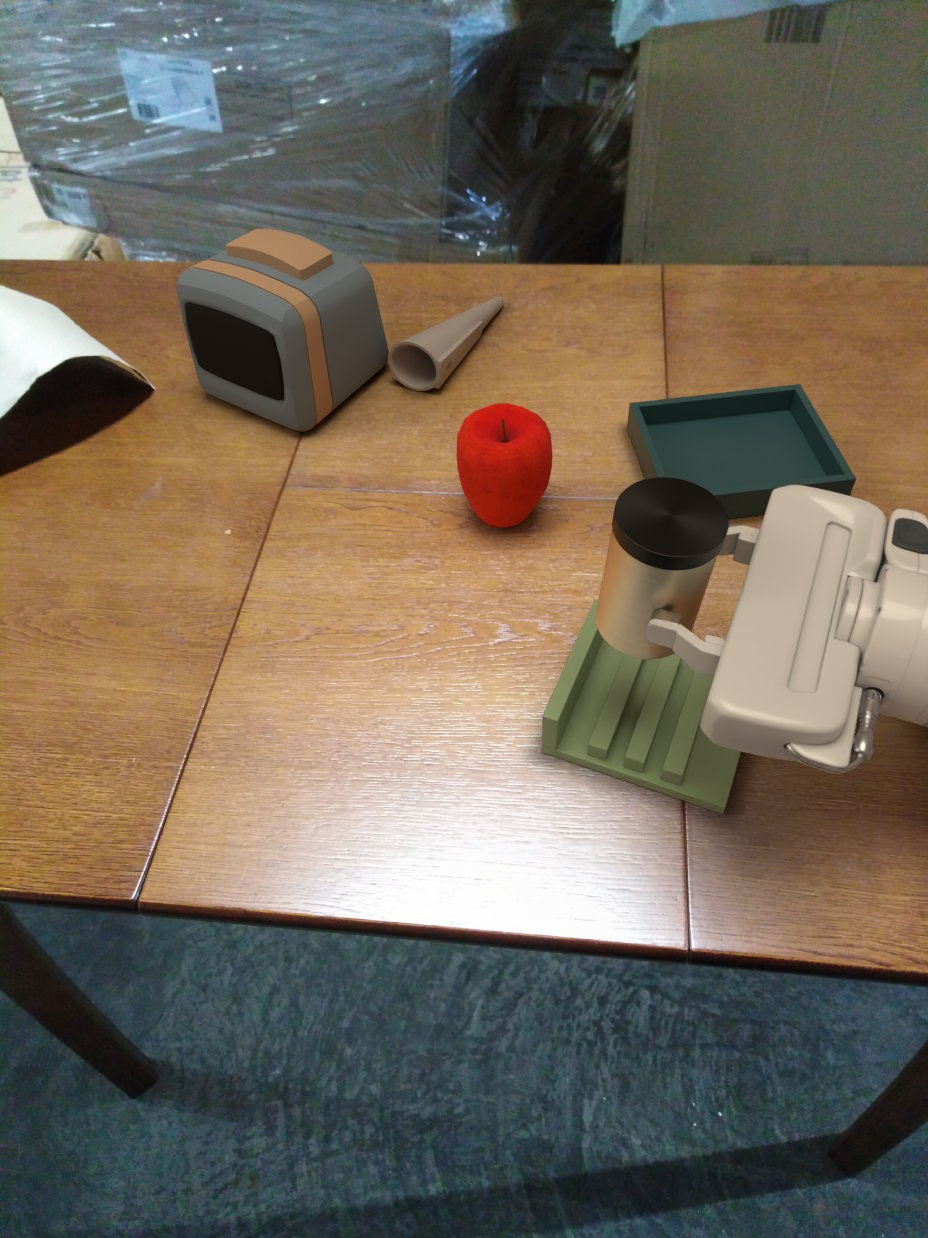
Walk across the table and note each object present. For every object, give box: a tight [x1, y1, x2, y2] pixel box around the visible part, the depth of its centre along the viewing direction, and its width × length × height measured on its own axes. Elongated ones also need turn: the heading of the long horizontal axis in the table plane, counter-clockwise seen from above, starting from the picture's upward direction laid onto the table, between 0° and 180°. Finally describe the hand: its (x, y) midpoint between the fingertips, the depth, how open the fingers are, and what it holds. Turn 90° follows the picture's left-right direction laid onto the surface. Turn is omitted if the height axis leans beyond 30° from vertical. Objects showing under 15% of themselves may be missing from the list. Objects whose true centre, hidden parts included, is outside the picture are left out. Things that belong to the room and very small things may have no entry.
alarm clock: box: [176, 228, 390, 433], centre depth 95 cm, size 16×16×16 cm
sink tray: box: [626, 383, 857, 520], centre depth 87 cm, size 18×15×3 cm
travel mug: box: [595, 477, 730, 659], centre depth 58 cm, size 7×7×10 cm
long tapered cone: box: [387, 296, 505, 392], centre depth 103 cm, size 6×6×19 cm
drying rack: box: [540, 599, 742, 814], centre depth 68 cm, size 14×12×5 cm
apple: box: [456, 402, 553, 529], centre depth 82 cm, size 9×9×11 cm
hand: (666, 580), depth 58 cm, fingers closed on travel mug, 6 cm apart
